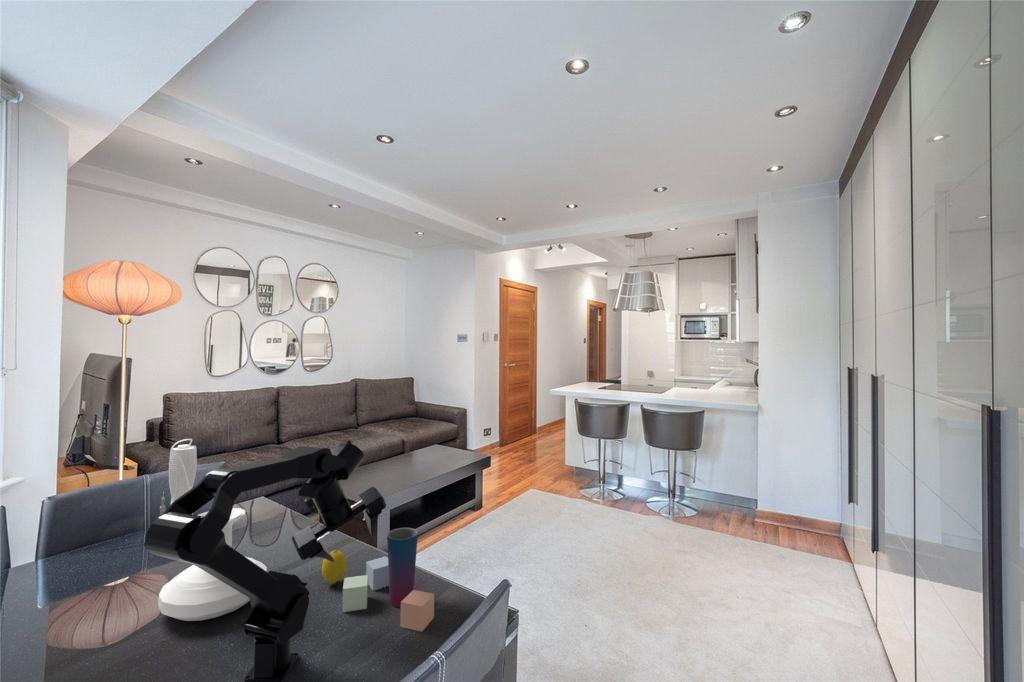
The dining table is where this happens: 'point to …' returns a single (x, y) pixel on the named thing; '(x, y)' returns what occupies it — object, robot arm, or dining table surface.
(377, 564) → the block slate
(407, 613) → the block terracotta
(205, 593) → the candle holder
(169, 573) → the dining table surface
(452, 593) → the dining table surface
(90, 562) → the dining table surface
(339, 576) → the lemon
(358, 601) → the block sage
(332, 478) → the robot arm
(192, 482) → the skyscraper
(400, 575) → the cup
